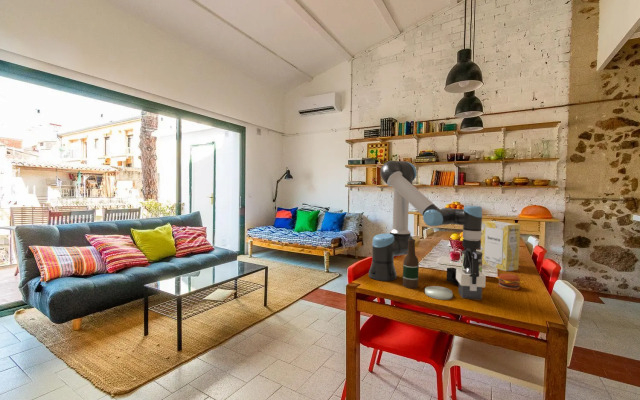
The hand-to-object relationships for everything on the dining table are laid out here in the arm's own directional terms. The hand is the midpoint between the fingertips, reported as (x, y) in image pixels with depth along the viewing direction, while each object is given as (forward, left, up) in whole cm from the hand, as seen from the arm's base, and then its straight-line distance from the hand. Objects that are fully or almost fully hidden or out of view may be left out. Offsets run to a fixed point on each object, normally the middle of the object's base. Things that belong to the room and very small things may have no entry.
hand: (469, 286), depth 137 cm
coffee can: (+9, +32, -5) cm, 34 cm away
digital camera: (-2, +17, -5) cm, 18 cm away
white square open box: (0, 0, +2) cm, 2 cm away
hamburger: (+23, +18, -5) cm, 30 cm away
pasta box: (+32, +59, -5) cm, 67 cm away
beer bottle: (-26, +7, -5) cm, 27 cm away
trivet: (-14, -2, -4) cm, 15 cm away
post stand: (0, 0, -4) cm, 4 cm away
